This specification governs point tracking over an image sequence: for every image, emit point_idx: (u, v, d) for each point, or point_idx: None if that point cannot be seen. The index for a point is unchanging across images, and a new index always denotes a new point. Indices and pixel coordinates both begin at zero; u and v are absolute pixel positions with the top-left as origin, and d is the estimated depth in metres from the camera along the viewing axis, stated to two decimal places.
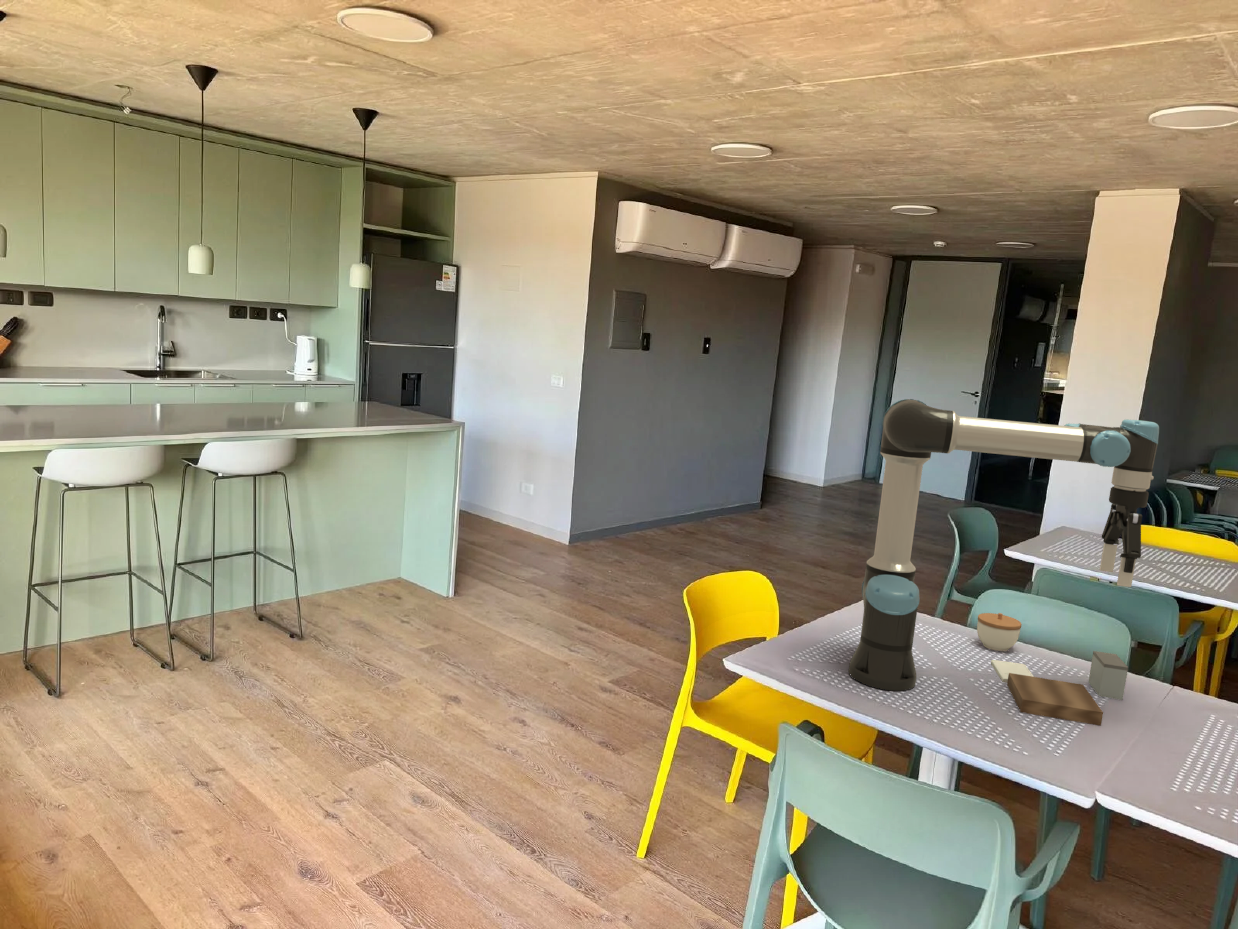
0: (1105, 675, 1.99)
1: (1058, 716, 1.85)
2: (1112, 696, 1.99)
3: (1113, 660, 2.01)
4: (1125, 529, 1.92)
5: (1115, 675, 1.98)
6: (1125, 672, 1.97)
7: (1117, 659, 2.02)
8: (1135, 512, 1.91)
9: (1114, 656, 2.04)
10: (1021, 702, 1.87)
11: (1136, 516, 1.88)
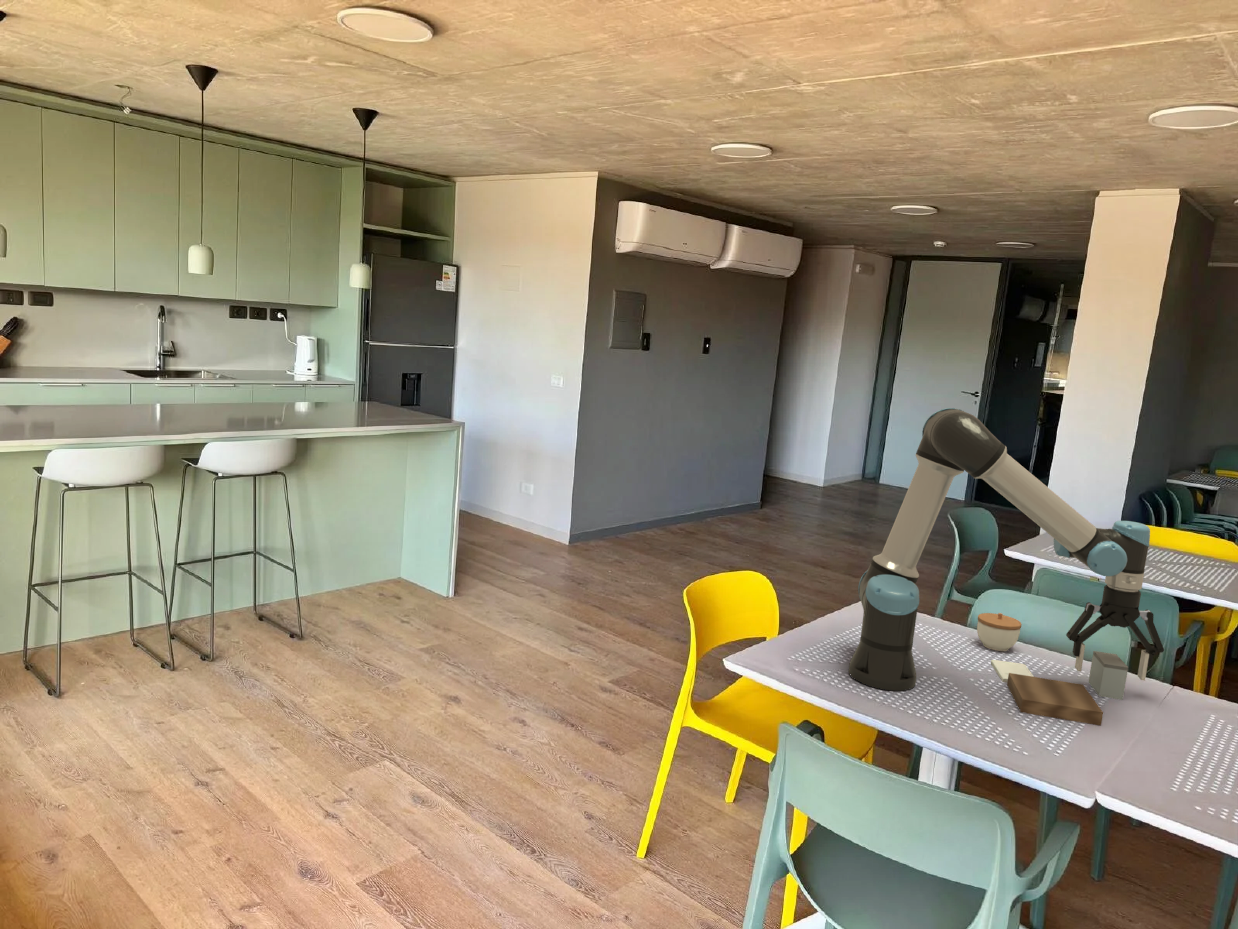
0: (1105, 675, 1.99)
1: (1058, 716, 1.85)
2: (1112, 696, 1.99)
3: (1113, 660, 2.01)
4: (1096, 620, 2.03)
5: (1115, 675, 1.98)
6: (1125, 672, 1.97)
7: (1117, 659, 2.02)
8: (1102, 606, 2.00)
9: (1114, 656, 2.04)
10: (1021, 702, 1.87)
11: (1087, 605, 2.02)
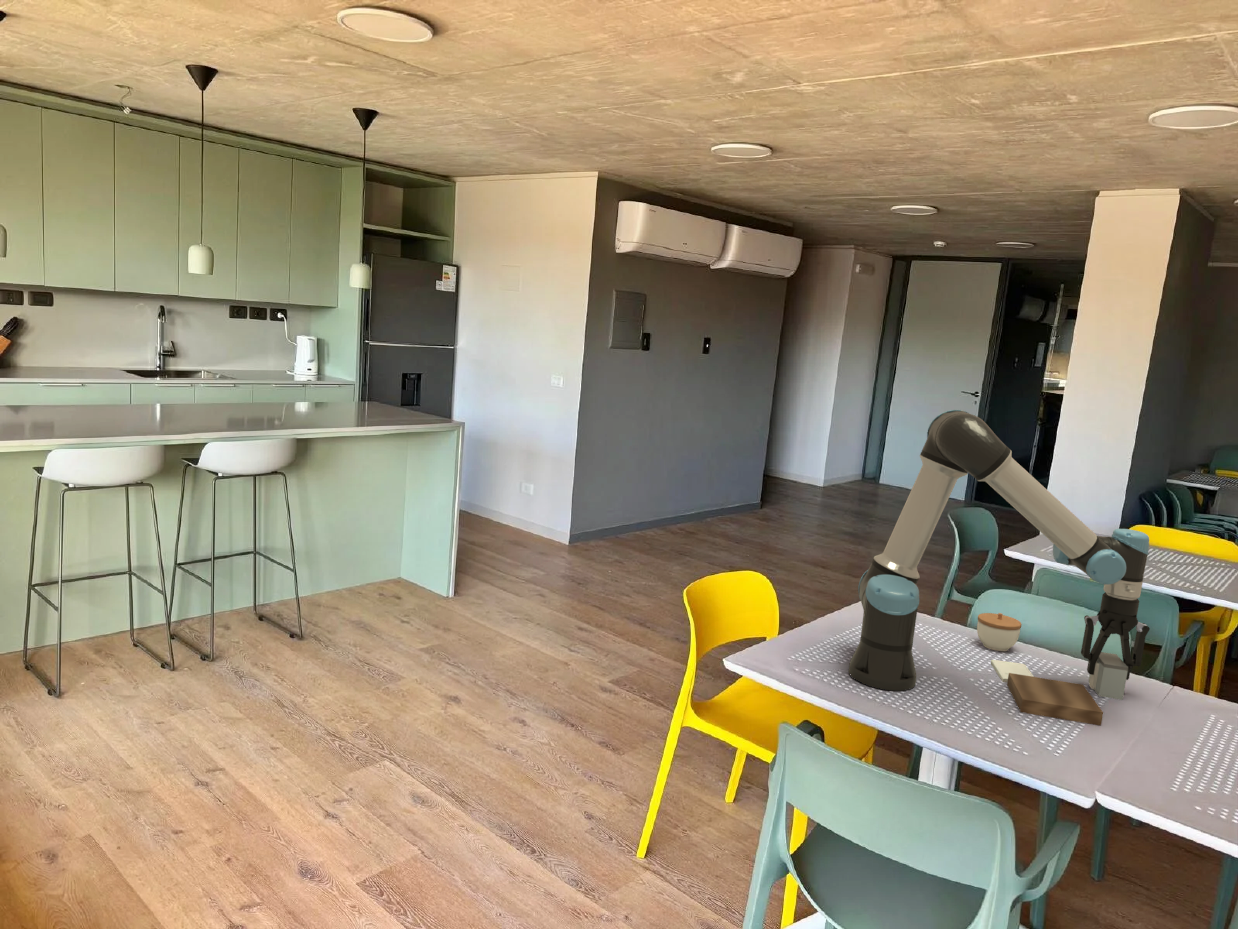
0: (1105, 675, 1.99)
1: (1058, 716, 1.85)
2: (1112, 696, 1.99)
3: (1113, 660, 2.01)
4: (1100, 633, 2.03)
5: (1115, 675, 1.98)
6: (1125, 672, 1.97)
7: (1117, 659, 2.02)
8: (1099, 615, 2.01)
9: (1114, 656, 2.04)
10: (1021, 702, 1.87)
11: (1085, 619, 2.02)
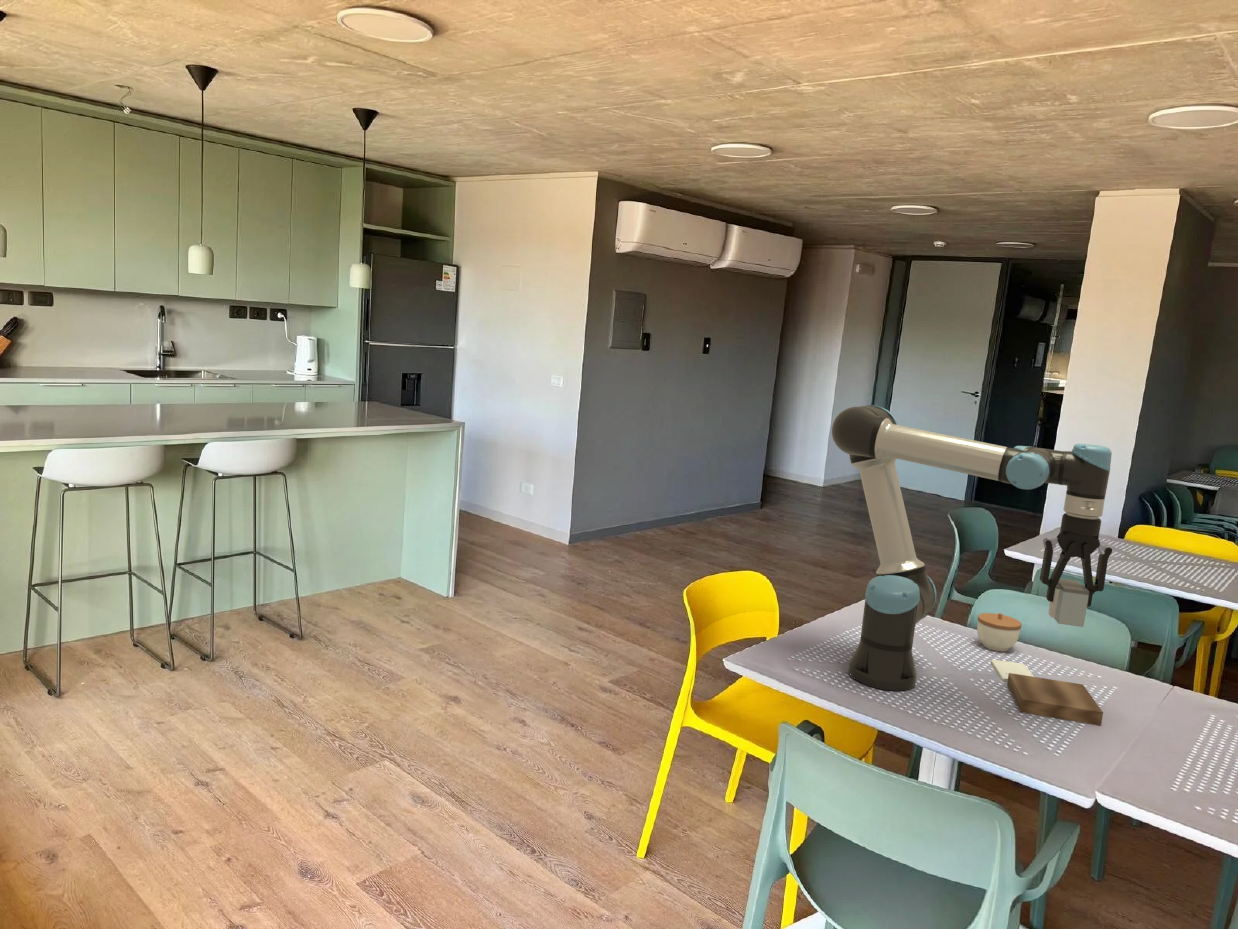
0: (1065, 601, 1.85)
1: (1058, 716, 1.85)
2: (1072, 623, 1.85)
3: (1074, 585, 1.87)
4: (1060, 556, 1.89)
5: (1075, 600, 1.84)
6: (1086, 597, 1.84)
7: (1079, 585, 1.88)
8: (1058, 537, 1.87)
9: (1076, 582, 1.90)
10: (1021, 702, 1.87)
11: (1044, 542, 1.88)
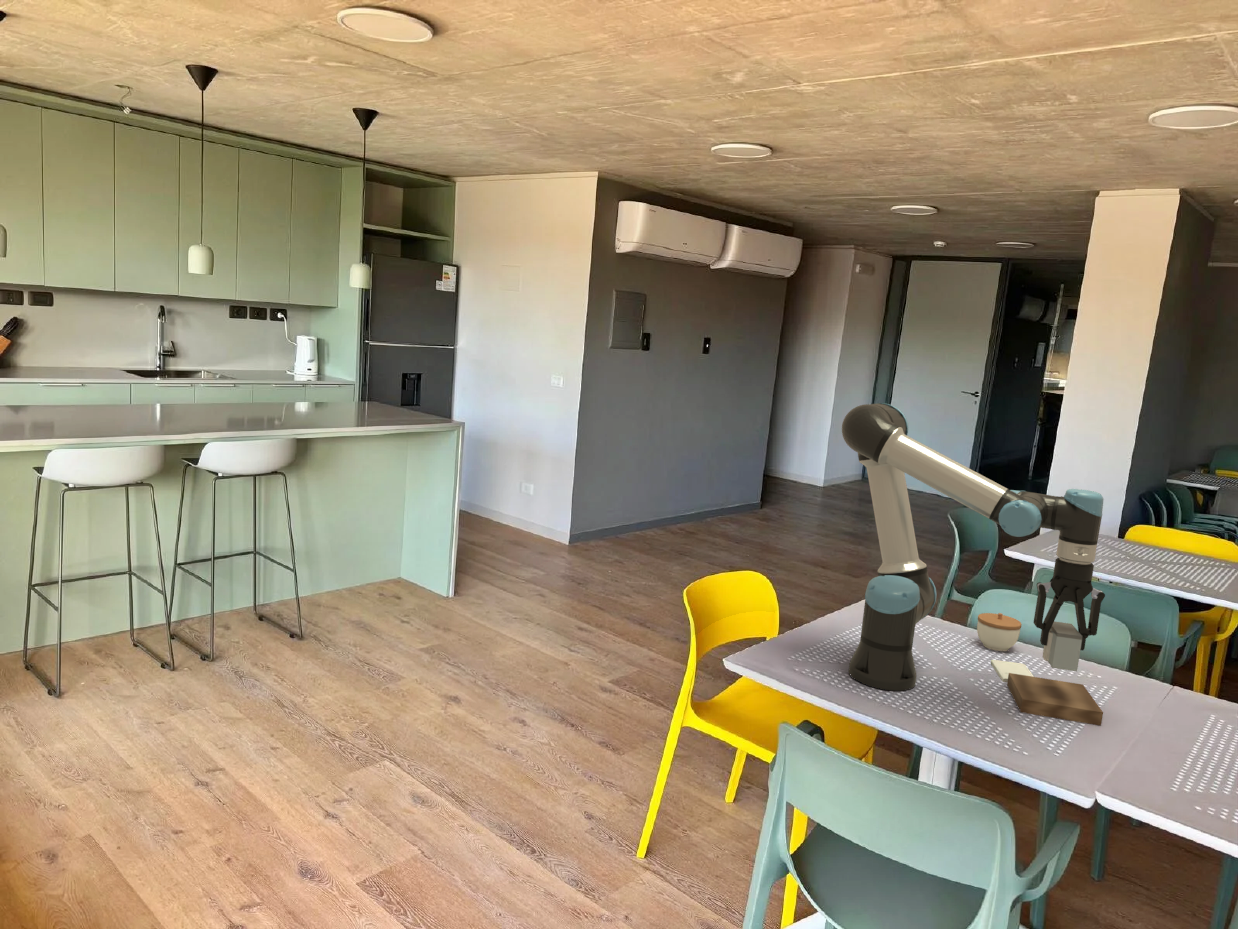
0: (1058, 645, 1.86)
1: (1058, 716, 1.85)
2: (1066, 667, 1.86)
3: (1067, 629, 1.89)
4: (1053, 600, 1.90)
5: (1069, 645, 1.86)
6: (1079, 641, 1.85)
7: (1072, 628, 1.90)
8: (1051, 581, 1.88)
9: (1069, 625, 1.92)
10: (1021, 702, 1.87)
11: (1037, 586, 1.90)
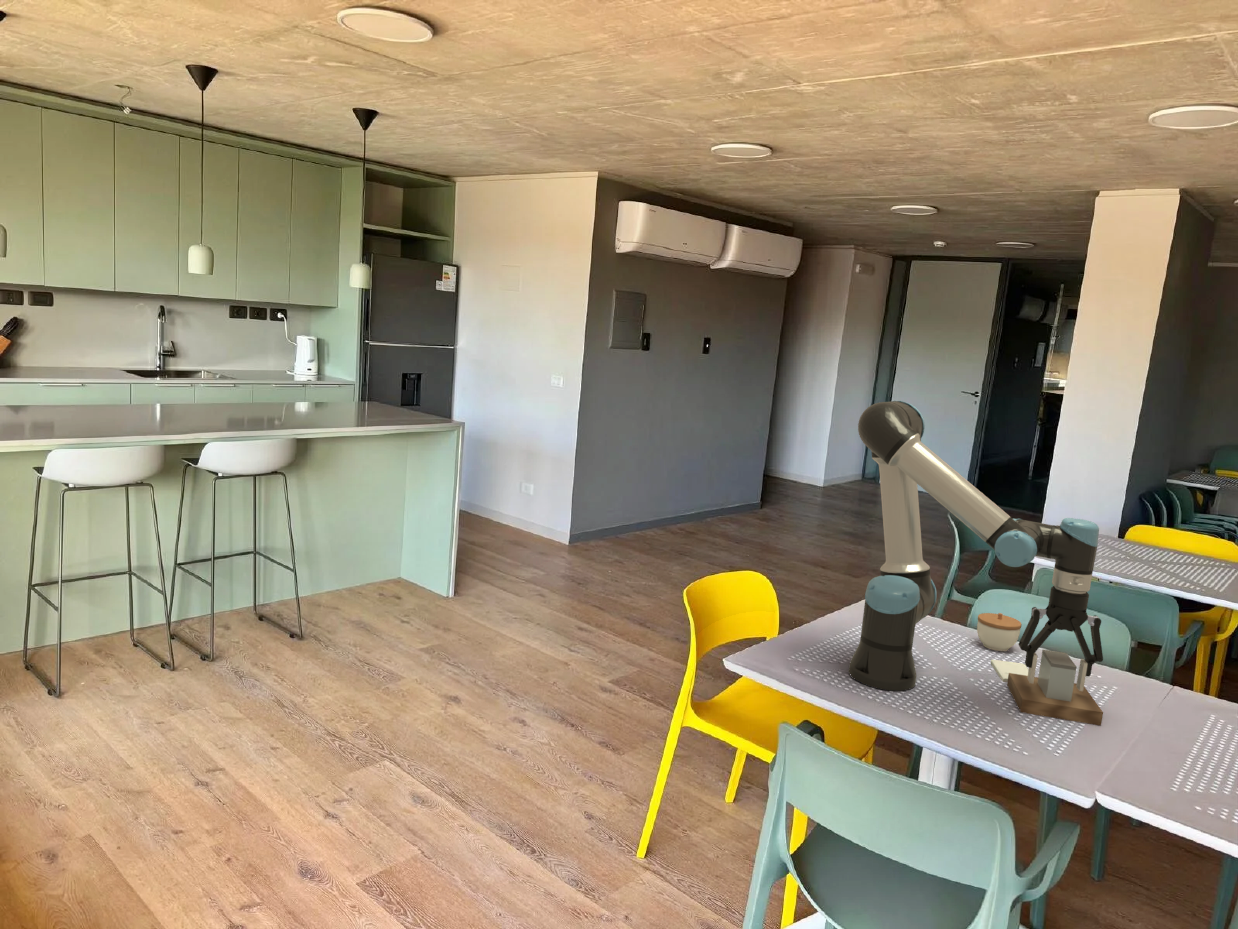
0: (1053, 675, 1.87)
1: (1058, 716, 1.85)
2: (1060, 697, 1.87)
3: (1061, 659, 1.90)
4: (1045, 626, 1.91)
5: (1063, 675, 1.87)
6: (1073, 672, 1.86)
7: (1067, 658, 1.91)
8: (1048, 609, 1.89)
9: (1064, 655, 1.93)
10: (1021, 702, 1.87)
11: (1032, 611, 1.91)
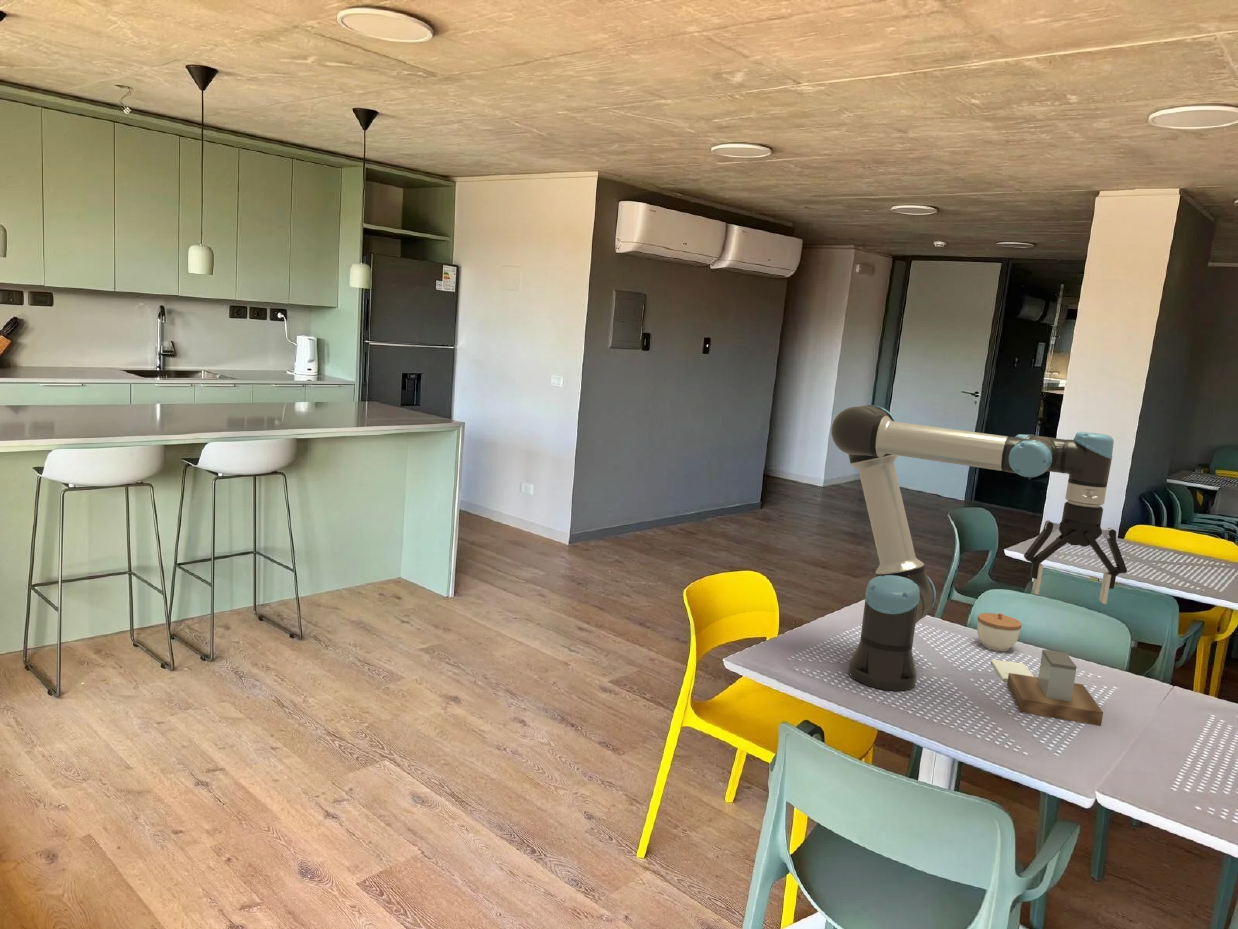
0: (1053, 675, 1.87)
1: (1058, 716, 1.85)
2: (1060, 697, 1.87)
3: (1061, 659, 1.90)
4: (1056, 540, 1.89)
5: (1063, 675, 1.87)
6: (1073, 672, 1.86)
7: (1067, 658, 1.91)
8: (1062, 523, 1.87)
9: (1064, 655, 1.93)
10: (1021, 702, 1.87)
11: (1046, 523, 1.88)
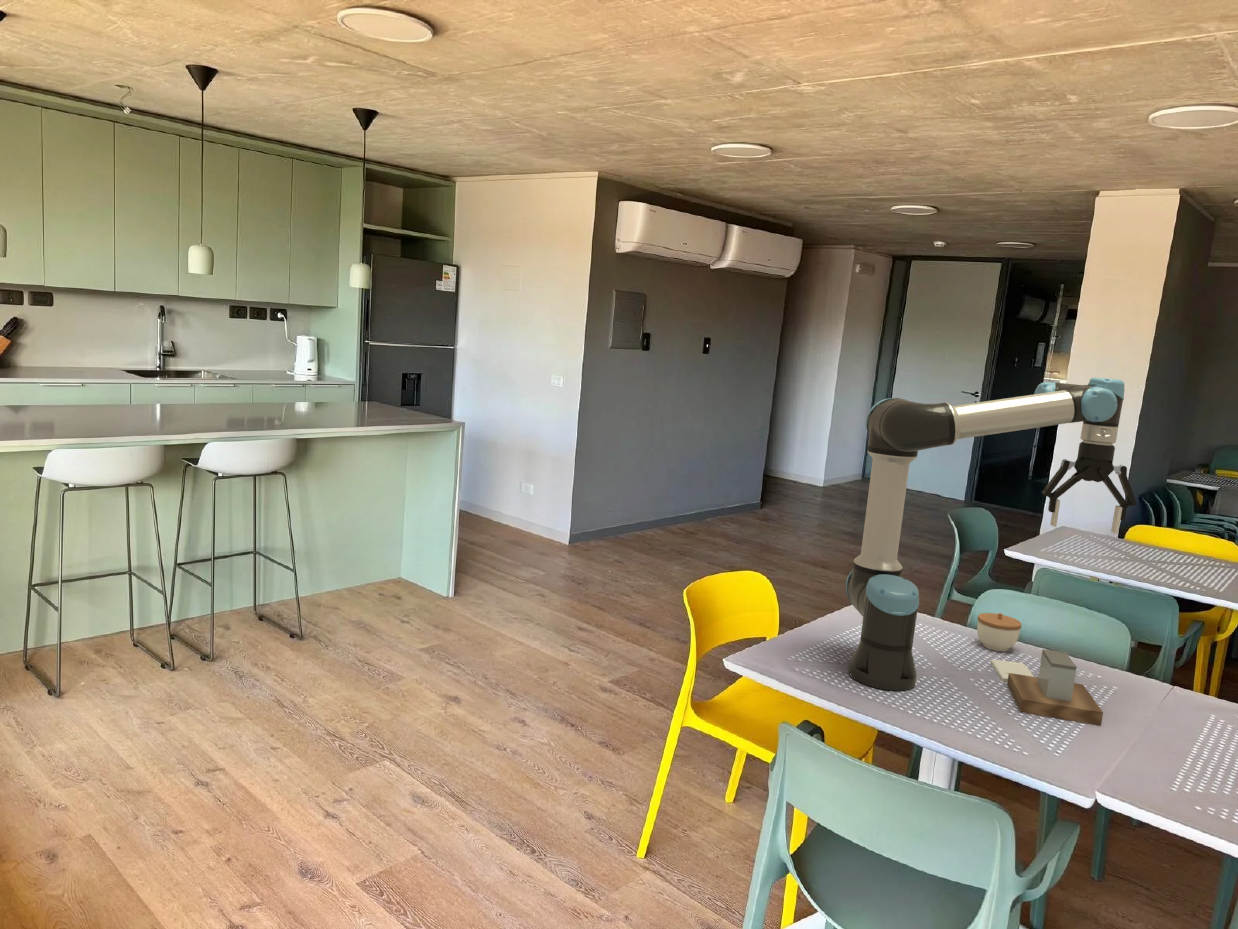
0: (1053, 675, 1.87)
1: (1058, 716, 1.85)
2: (1060, 697, 1.87)
3: (1061, 659, 1.90)
4: (1071, 477, 2.07)
5: (1063, 675, 1.87)
6: (1073, 672, 1.86)
7: (1067, 658, 1.91)
8: (1077, 461, 2.05)
9: (1064, 655, 1.93)
10: (1021, 702, 1.87)
11: (1063, 461, 2.06)
